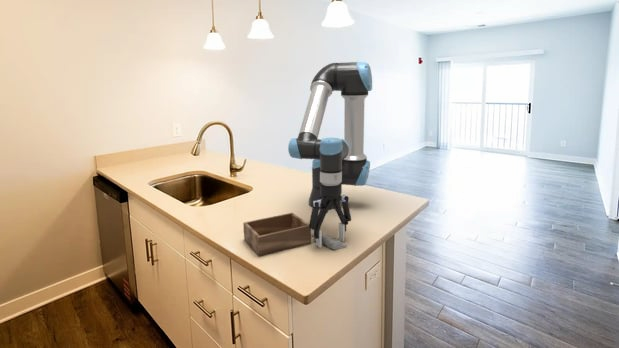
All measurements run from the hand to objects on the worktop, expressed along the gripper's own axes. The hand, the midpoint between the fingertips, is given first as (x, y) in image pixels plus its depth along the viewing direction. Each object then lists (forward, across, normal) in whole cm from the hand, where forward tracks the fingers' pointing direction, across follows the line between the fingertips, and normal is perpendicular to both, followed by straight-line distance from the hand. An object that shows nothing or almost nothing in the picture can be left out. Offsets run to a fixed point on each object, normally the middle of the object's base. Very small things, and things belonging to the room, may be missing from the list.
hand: (330, 243), depth 126 cm
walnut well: (0, -16, +11) cm, 19 cm away
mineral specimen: (+1, -1, -1) cm, 1 cm away
